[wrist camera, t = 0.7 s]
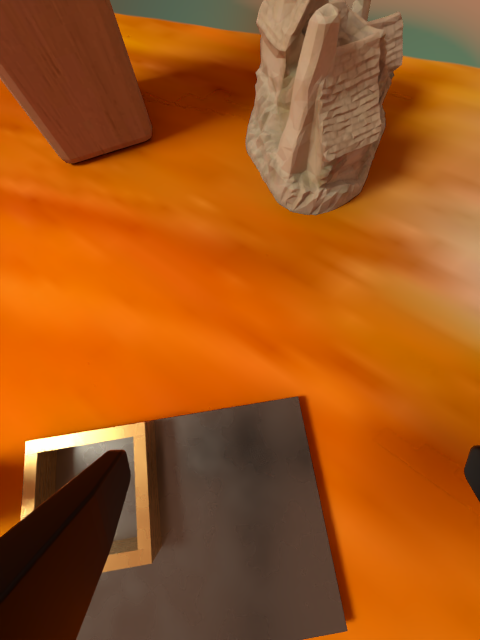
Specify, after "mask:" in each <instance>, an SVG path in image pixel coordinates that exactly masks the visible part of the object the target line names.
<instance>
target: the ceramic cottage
mask: <svg viewBox="0 0 480 640" xmlns="http://www.w3.org/2000/svg"><path fill="white" fill-rule="evenodd" d="M370 2H371V0H355V1H354V3H353V6H352V10H351V9H350V8H349V6H348V5H347V4H346V1H345V0H264V1H263V2H262V4H261V6H260V9H259V12H258V18H257V22H256V24H257V26H258V29H259V31H260V34H261V41H260V43H261V64H260V67H259V69H258V70H257V71H256V77H257V83H256V85H255V90H256V97H255V102H254V108H253V111H252V113H251V117H250V121H249V124H248V129H247V135H246V149H247V153H248V154H249V156H250V157H251V159H252V161H253V162H254V164H255V165H256V166H257V169H258V170H259V172H260V174H261V176H262V178H263V180H264V181H265V183H266V184H267V186H268V188H269V190H270V191H271V193H272V194H273V196H274V198H275V199H276V201H277V202H278V203H279V204H280V205H282V206H283V207H285V208H287V209H288V210H290V211H292V212H295V213H300V214H305V215H310V214H312V215H317V214H321V213H325V212H329V211H332V210H334V209H336V208H338V207H340V206H342V205H344V204H345V203H347V202H349V201H350V200H351V199H353V197H355V196H356V195H358V194H359V193H360V192H361V190H362V187H363V185H364V183H365V181H366V179H367V176H368V172H369V169H370V166H371V163H372V160H373V159H374V155H375V152H376V149H377V147H378V144H379V142H380V140H381V136H382V134H383V132H384V129H385V126H386V123H385V112H384V110H383V108H382V103H383V100H384V98H385V96H386V93H387V91H388V89H389V87H390V85H391V79H392V78H393V76H394V74H393V71H394V70H396V69H397V68H398V67H399V66H401V65H402V57H403V54H402V32H403V22H402V17H401V14H400V12H396V13H395V14H392V15H389V16H386V17H383V18H380V19H376V20H373V21H369V22H367V18H368V13H369V8H370Z"/></svg>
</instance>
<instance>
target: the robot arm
mask: <svg viewBox="0 0 480 640" xmlns="http://www.w3.org/2000/svg"><path fill="white" fill-rule="evenodd" d="M464 473H465V477H466V479H467V481H468V483H469V485H470V486H471V488H472V490H473V491H474V493H475V495H476V496H477V498H478V500H479V502H480V445H476V446H473V447H472V448H471V450H470V453H469V456H468V459H467V462H466V465H465V468H464ZM130 479H131V472H130V467H129V462H128V457H127V453H126V451H125V450H123V449H120V450H109V451H107V452H105V453H104V454H103V455H102V456H101V457H99V458H98V459H97V460H96V461H94V462H93V463H92V464H91V465H89V466H88V467H87V468H86V469H84V470H83V471H82V472H81V473H79V474H78V475H77V476H76V477H74V478H73V479H72V480H71V481H69V482H68V483H67V484H66V485H65V486H63V487H62V488H61V489H60V490H58V491H57V492H56V493H55V494H53V495H52V496H51V497H50V498H48V499H47V500H46V501H45V502H43V503H42V504H41V505H40V506H38V507H37V508H36V509H35V510H33V511H32V512H31V513H30V514H29V515H27V516H26V517H25V518H24V519H22V520H21V521H20V522H19V523H17V524H16V525H15V526H14V527H12V528H11V529H10V530H9V531H7V532H6V533H5V534H4V535H2V536H1V537H0V640H76V639H77V636H78V634H79V631H80V629H81V626H82V623H83V621H84V618H85V616H86V613H87V610H88V608H89V605H90V603H91V600H92V597H93V595H94V592H95V590H96V587H97V584H98V582H99V579H100V577H101V574H102V571H103V569H104V566H105V564H106V561H107V558H108V555H109V553H110V550H111V546H112V543H113V540H114V537H115V533H116V530H117V526H118V523H119V519H120V516H121V512H122V509H123V505H124V502H125V498H126V495H127V491H128V488H129V484H130Z"/></svg>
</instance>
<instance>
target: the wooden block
mask: <svg viewBox="0 0 480 640" xmlns="http://www.w3.org/2000/svg"><path fill="white" fill-rule="evenodd" d="M0 79H1V80H2V81H3V83H4V84H5V85H6V87H7V88H8V89H9V91H10V92H11V93H12V95H13V96H14V97H15V99H16V100H17V101H18V103H19V104H20V105H21V107H22V108H23V109H24V111H25V112H26V113H27V115H28V116H29V117H30V119H31V120H32V121H33V123H34V124H35V125H36V127H37V128H38V129H39V130H40V132H41V133H42V134H43V136H44V137H45V138H46V140H47V141H48V142H49V144H50V145H51V146H52V148H53V149H54V150H55V152H56V153H57V154H58V156H59V157H60V158H61V159H62V160H64V161H65V162H66V163H76V162H80V161H83V160H86V159H89V158H93V157H96V156H99V155H102V154H106V153H109V152H112V151H115V150H118V149H122V148H125V147H128V146H131V145H135V144H138V143H141V142H144V141H147V140H149V139H150V138H151V137H152V125H151V122H150V119H149V116H148V113H147V110H146V107H145V104H144V101H143V98H142V95H141V92H140V89H139V86H138V83H137V80H136V77H135V74H134V71H133V68H132V65H131V62H130V59H129V56H128V53H127V50H126V47H125V44H124V42H123V39H122V36H121V33H120V30H119V27H118V24H117V21H116V18H115V15H114V12H113V9H112V6H111V3H110V0H0Z"/></svg>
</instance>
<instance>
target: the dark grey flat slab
mask: <svg viewBox="0 0 480 640" xmlns="http://www.w3.org/2000/svg"><path fill="white" fill-rule="evenodd" d="M120 449H123V450H125V451H126V453H127V457H128V462H129V467H130V472H131V479H130V484H129V488H128V491H127V495H126V498H125V502H124V505H123V509H122V512H121V516H120V519H119V523H118V526H117V530H116V533H115V537H114V540H113V543H112V546H111V550H110V553H109V555H108V558H107V561H106V564H105V566H104V569H103V571H102V574H101V577H100V579H99V582H98V584H97V587H96V590H95V592H94V595H93V597H92V600H91V603H90V605H89V608H88V610H87V613H86V616H85V618H84V621H83V623H82V626H81V629H80V631H79V634H78V636H77V639H76V640H303V639H308V638H313V637H318V636H324V635H329V634H334V633H339V632H345V631H347V626H346V621H345V617H344V612H343V607H342V602H341V598H340V593H339V588H338V584H337V579H336V574H335V569H334V565H333V560H332V555H331V550H330V546H329V541H328V536H327V531H326V527H325V522H324V517H323V513H322V508H321V503H320V498H319V494H318V489H317V484H316V479H315V475H314V470H313V465H312V460H311V456H310V451H309V446H308V441H307V437H306V432H305V427H304V423H303V418H302V413H301V408H300V404H299V399H298V397H292V398H286V399H280V400H274V401H268V402H262V403H255V404H249V405H243V406H237V407H231V408H225V409H219V410H213V411H207V412H201V413H195V414H189V415H183V416H176V417H170V418H164V419H158V420H152V421H146V422H140V423H134V424H128V425H122V426H116V427H110V428H103V429H97V430H91V431H85V432H79V433H73V434H67V435H61V436H55V437H49V438H43V439H37V440H32V441H26V446H25V461H24V476H23V491H22V506H21V520H22V519H24V518H25V517H26V516H27V515H29V514H30V513H31V512H32V511H33V510H35V509H36V508H37V507H38V506H40V505H41V504H42V503H43V502H45V501H46V500H47V499H48V498H50V497H51V496H52V495H53V494H55V493H56V492H57V491H58V490H60V489H61V488H62V487H63V486H65V485H66V484H67V483H68V482H69V481H71V480H72V479H73V478H74V477H76V476H77V475H78V474H79V473H81V472H82V471H83V470H84V469H86V468H87V467H88V466H89V465H91V464H92V463H93V462H94V461H96V460H97V459H98V458H99V457H101V456H102V455H103V454H104V453H105V452H107V451H109V450H120Z"/></svg>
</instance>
